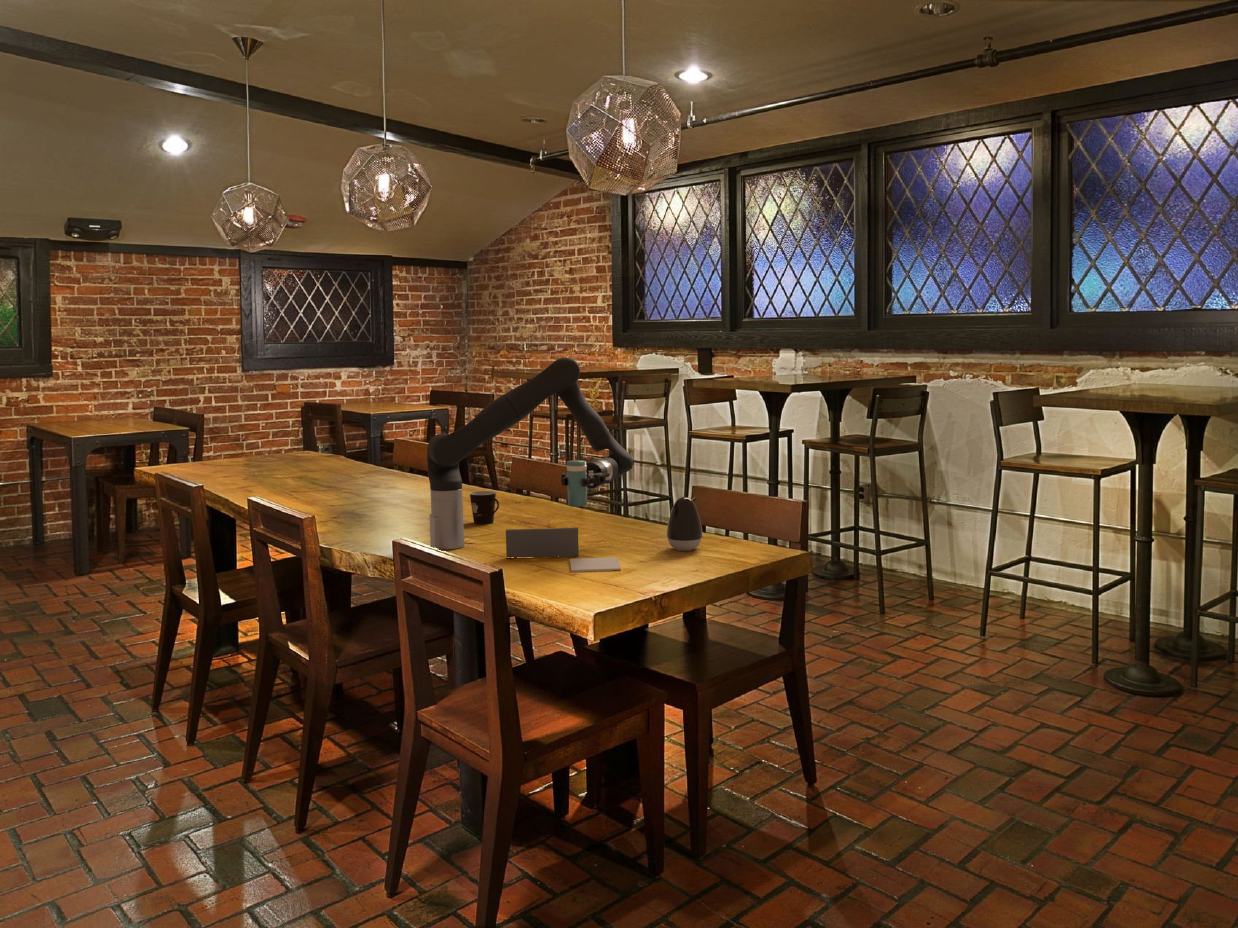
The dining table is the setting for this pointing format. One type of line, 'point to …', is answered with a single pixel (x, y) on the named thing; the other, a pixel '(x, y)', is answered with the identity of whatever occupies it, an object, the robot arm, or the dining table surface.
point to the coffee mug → (483, 506)
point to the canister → (576, 483)
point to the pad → (594, 564)
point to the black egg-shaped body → (684, 525)
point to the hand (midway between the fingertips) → (573, 482)
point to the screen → (542, 542)
